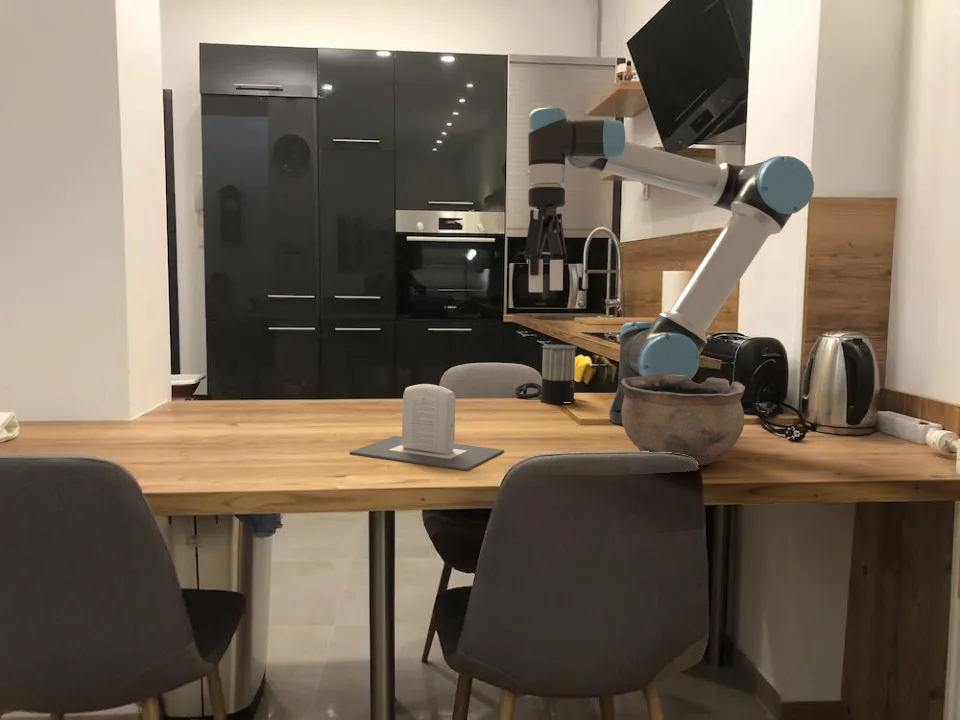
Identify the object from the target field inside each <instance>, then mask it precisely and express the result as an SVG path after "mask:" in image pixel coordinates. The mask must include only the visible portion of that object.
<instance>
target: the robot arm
mask: <svg viewBox="0 0 960 720" xmlns="http://www.w3.org/2000/svg"><path fill="white" fill-rule="evenodd" d="M528 117H529V118H528V133H527V137H528V138H527V139H528V148H527V149H528V150H527V151H528V154H527V155H528V171H526V176H527V177H528V186H530V188H529V189H528V192H527V193H528V202H527V203H528V206H529V207H531V209H530V211H529V224H528V230H527V236H526V241H525V246H524V247H525V248H524V255H523V258H524V260H528V293H543V292H544V291H543V290H544V279H543V277H544V275H543V274H544V259H542V255H543V251H544V248H545V244H546V241H547V246H548V249H549V253H550V257H551V259H550V260H549V291H563V290H564V282H563V281H564V261H565V260H567V259H568V255H567V250H566V242H565V234H564V226H563V214H562V212H557V208H562V207H564V206H565V204H566V189H565V188H564V186H565V185H566V162H567V163H568V164H569V165H570V166H572V167H574V168H576V169H591V170H594V171H600V172H603V173H604V172H605V173H606V174H607V173H608V174H611V175H615V176H618V177H623V178H626V179H630V180H632V181H633V180H634V181H638V182H640V183H641V182H642V183H645V184H649V185H652V186H656V187H660V188H663V189H667V190H672V191H675V192H679V193H682V194H685V195H690V196H692V197H698V198H701V199H703V200H704V199H705V200H706V201H707V202H708V203H707V204H708V205H710V206H712V207H716V208H720V209H723V210H725V211H726V210H727V211H729V212H731V217H730V218H729V220H728V221H727V223H726V225H724V228H723V229H722V230H721V232H720V233H719V235H718V237H717V238H716V240H715V241H714V242H713V244H712V245H711V247H710V249H709V250H708V252H707V254H706V255H705V256H704V259H703V260H702V261H701V263H700V264H699V265H698V267H697V269H696V270H695V272H694V273H693V275H692V277H691V278H690V279H689V281H688V283H687V284H686V285H685V287H684V289H682V292H681V293H680V294H679V296H678V298H677V299H676V300H675V302H674V304H673V305H672V307H671V308H670V310H669V311H664V312H660V313H658V316H657V317H656V318H655V320H654V321H636V322H633V321H632V322H626V323H624V324H623V325H622V326H621V329H620V334H619V340H620V341H619V361H618V362H619V364H618V387H617V390H616V393H615V395H614V398H613V400H612V403H611V406H610V409H609V415H608V416H609V417H610V419H611V421H610V422H611V423H613V424H617V425H621V426H623V424H622V415H621V411H622V404H623V400H624V392H623V387H622V383H621V381H622V379H627V378H631V377H643V376H651V375H657V374H675V375H688V376H689V378H690V379H691V380H692V379H693V378H694V377H695V375H696V374H697V372H698V369H699V367H700V354H701V353H702V352H703V349H705V347H706V345H707V343H708V340H707V335H706V332H707V330H708V329H709V327H710V326H711V324H712V323H713V321H714V320H715V318H716V316H717V315H718V314H719V312H720V310H721V309H722V307H723V306H724V304H725V303H726V301H727V300H728V298H729V297H730V296H731V294H732V292H733V291H734V290H735V288H736V286H737V285H738V283H739V282H740V280H741V279H742V277H743V276H744V274H745V273H746V271H747V269H748V268H749V266H750V265H751V264H752V262H753V260H754V259H755V257H756V256H757V255H758V253H759V252H760V250H761V248H762V247H763V246H764V244H765V242H766V240H767V239H768V238H769V236H771V235H776V234H779V233H781V231H782V230H783V229H784V227H785V225H786V224H787V223H788V221H789V220H790V218H791V217H792V215H793V214H796V213H798V212H800V211H801V210H802V209H804V208H805V207H806V206H808V204H809V202H810V201H811V199H812V197H813V194H814V190H815V182H814V177H813V174H812V172H811V170H810V168H809V167H808V165H807V164H806V163H805V162H803V161H802V160H801V159H799V158H797V157H794V156H790V155H777V156H773V157H770V158H768V159H767V160H763V161H760V162H758V163H754V164H750V165H749V164H748V165H737V164H731V163H727V162H722V163H720V164H718V165H716V164H712V163H708V162H705V161H701V160H698V159H693V158H690V157H686V156H682V155H679V154H675V153H672V152H668V151H665V150H664V151H663V150H659V149H656V148H653V147H650V146H649V147H648V146H645V145H642V144H637V143H634V142H630V141H627V140H626V129H625V128H626V127H625V125H624V123H623V122H622V121H621V120H614V119H613V120H612V119H607V118H605V119H580V120H579V119H570V118H569V119H567V115H566V111H565V110H564V109H563V108H559V107H542V108H541V107H539V108H536V109H533V110H532V111H531V113H529V116H528ZM532 208H533V209H532ZM534 208H535V209H534ZM609 417H608V418H609Z"/></svg>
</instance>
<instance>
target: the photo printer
mask: <svg viewBox="0 0 960 720" xmlns="http://www.w3.org/2000/svg"><path fill="white" fill-rule="evenodd" d="M456 399H457V398H456V395H455V393H454V391H452V390H450V389H448V388H446V387H444V386H440V385H436V384H430V383H421V384H415V385H414V384H413V385H411V386H407V387H405V389H404V391H403V396H402V425H401V426H402V429H401V431H402V432H401V437H402V447H403V448H409V449H415V450H422V451H429V452H435V453H441V454H450V453H452V452H453V449H454V444H455V432H456V431H455V430H456V428H455V427H456V403H457V402H456Z"/></svg>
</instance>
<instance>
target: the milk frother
mask: <svg viewBox="0 0 960 720" xmlns="http://www.w3.org/2000/svg"><path fill="white" fill-rule="evenodd" d="M541 347H542V368H541V369H542V372H541V373H542V375H541V377H542V378H541V385H540V384H539V383H536V382H527V383H523V384H520V385H518V386H517V387H516V388H515V390H514V393H515V395H516V396H518V397H520V398H524V399H533V398H534V399H535V398H537V397H539V396H540V398H539V401H540V402H542V403H546V404H552V405H562V404H561V403H564V402H574V401H575V402H576V400H575V373H576V372H575V369H576V367H575V366H576V349H577V346H575V345H569V344H544V345H542V346H541ZM531 388H532V389H535V390H537V392H534V393H527V392H528V389H531ZM575 402H574V403H575Z"/></svg>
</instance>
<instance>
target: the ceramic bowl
mask: <svg viewBox="0 0 960 720" xmlns="http://www.w3.org/2000/svg"><path fill="white" fill-rule="evenodd" d="M621 383H622V387H623V392H624V400H623V404H622V411H621V415H622V424H623V425H622V426H623V428H624V431H625V434H626V436H627V437H628V438H629V440H630V441H631V443H632V444H633V445H634V446H635V447H637V449H638V450H639V451H640V452H641V451H649V452H672V453H680V454H685V455H688V456H691V457H693V458H694V459H695V460H696V461H697V462H698V464H699V466H706V465H710V464H712V463H714V462H716V461H718V460H719V459H721V458H722V457H723V456H725V455H726V454H728V453H729V451H730V450H731V449H732V448H733V447H734V446H735V445H736V444H737V442H738V440H739V438H740V437H741V434H742V433H743V430H744V426H745V412H744V408H743V405H742V402H741V399H742V397H743V395H744V393H745V390H746V386H745V385H743V384H742V382H741V383H740V382H739V381H733V382H731V385H730V381H729V380H728V379H726V378H719V377H717V378H716V377H708V378H706V379H705V381H704V382H701V383H697V382H694V381H693V380H692V379H690V378H689V376H688V375H675V374H657V375H651V376H643V377H631V378H627V379H622V381H621Z"/></svg>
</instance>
